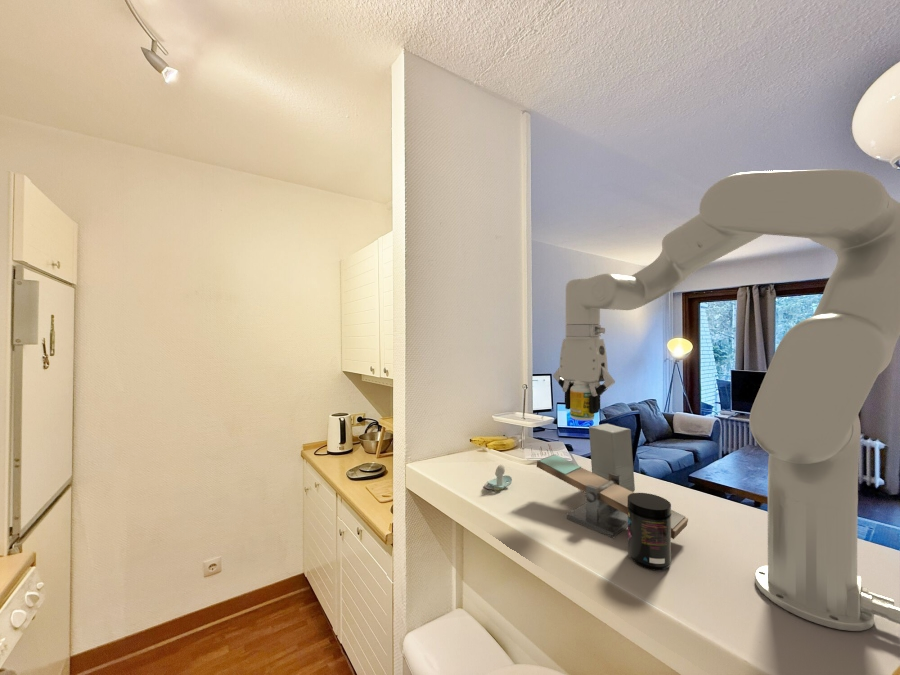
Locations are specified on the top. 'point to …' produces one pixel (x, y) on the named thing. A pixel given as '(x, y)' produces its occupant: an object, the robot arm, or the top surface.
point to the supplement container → (649, 530)
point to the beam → (607, 489)
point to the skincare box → (612, 453)
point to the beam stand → (600, 512)
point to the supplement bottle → (580, 401)
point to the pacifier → (499, 480)
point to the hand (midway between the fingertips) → (581, 409)
